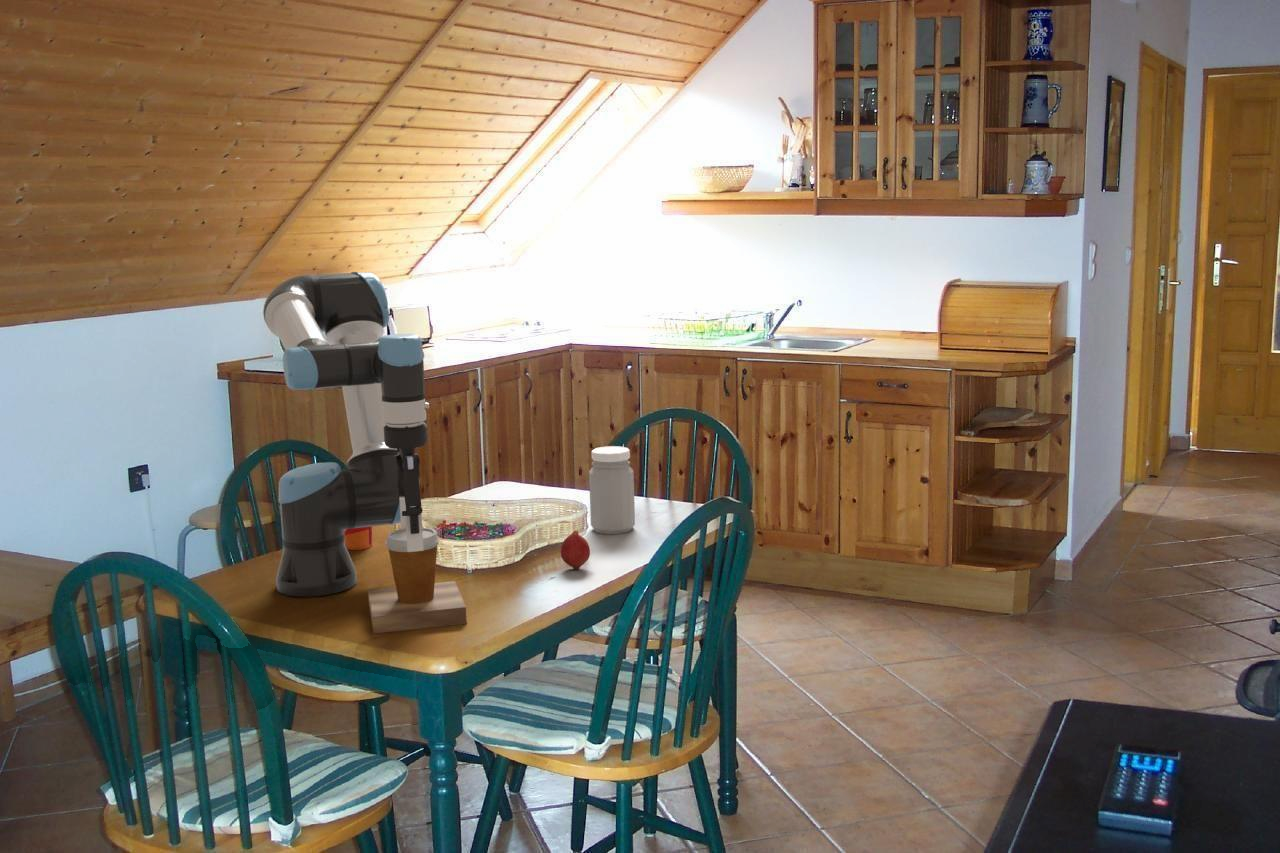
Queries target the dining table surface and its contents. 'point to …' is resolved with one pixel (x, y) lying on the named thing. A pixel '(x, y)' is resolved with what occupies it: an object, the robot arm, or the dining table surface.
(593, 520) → the jar
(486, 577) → the dining table surface
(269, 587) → the dining table surface
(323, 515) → the robot arm
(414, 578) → the disposable coffee cup
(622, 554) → the dining table surface
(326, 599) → the dining table surface
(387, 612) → the square wooden board
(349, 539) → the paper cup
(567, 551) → the onion
